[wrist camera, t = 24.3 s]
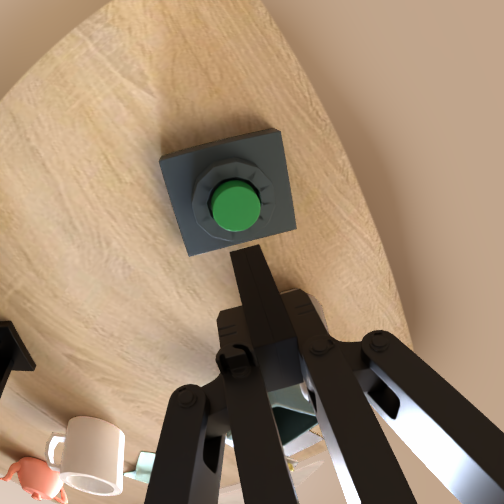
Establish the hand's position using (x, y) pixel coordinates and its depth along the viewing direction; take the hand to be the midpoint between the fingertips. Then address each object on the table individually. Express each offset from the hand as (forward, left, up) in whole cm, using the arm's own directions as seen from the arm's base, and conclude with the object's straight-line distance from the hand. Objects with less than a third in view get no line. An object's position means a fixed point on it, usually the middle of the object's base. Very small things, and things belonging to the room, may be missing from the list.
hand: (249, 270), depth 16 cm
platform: (+27, -38, -14) cm, 49 cm away
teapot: (-16, -75, -14) cm, 78 cm away
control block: (0, 0, -14) cm, 14 cm away
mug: (-5, -46, -14) cm, 48 cm away
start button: (0, 0, -10) cm, 10 cm away
